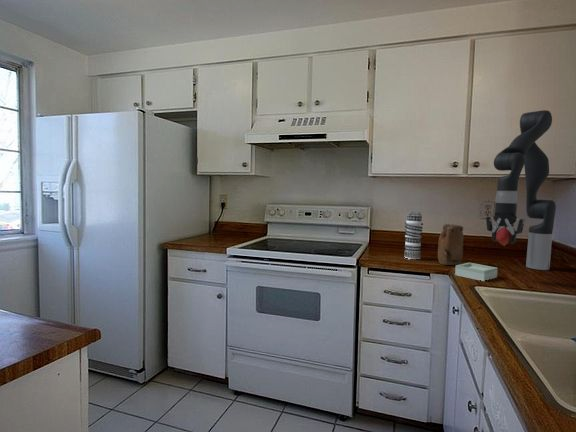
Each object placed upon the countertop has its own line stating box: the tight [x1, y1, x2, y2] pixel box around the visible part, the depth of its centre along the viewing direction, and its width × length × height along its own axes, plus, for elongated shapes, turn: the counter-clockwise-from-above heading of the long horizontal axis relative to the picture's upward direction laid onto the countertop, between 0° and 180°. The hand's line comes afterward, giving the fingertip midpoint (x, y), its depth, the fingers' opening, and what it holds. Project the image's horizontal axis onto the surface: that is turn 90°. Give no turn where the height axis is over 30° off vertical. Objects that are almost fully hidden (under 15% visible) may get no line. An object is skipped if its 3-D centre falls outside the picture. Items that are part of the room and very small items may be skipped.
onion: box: [496, 226, 512, 247], centre depth 141 cm, size 6×6×8 cm
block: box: [437, 223, 464, 266], centre depth 170 cm, size 11×8×20 cm
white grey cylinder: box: [403, 211, 424, 260], centre depth 183 cm, size 9×9×25 cm
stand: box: [454, 262, 499, 282], centre depth 148 cm, size 12×12×4 cm
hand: (503, 242), depth 142 cm, fingers closed on onion, 6 cm apart
